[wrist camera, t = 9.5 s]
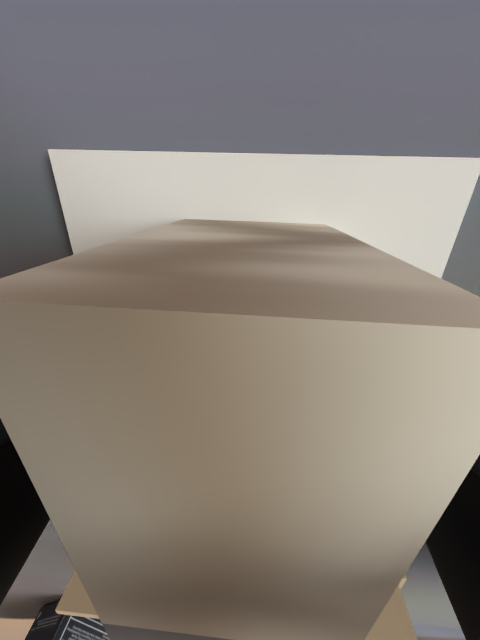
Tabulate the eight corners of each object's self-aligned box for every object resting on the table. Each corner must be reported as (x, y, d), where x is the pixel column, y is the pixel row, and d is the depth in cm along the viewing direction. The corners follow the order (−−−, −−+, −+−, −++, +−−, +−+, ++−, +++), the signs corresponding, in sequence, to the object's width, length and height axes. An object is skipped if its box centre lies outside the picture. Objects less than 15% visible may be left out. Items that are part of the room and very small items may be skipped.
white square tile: (473, 159, 9) (485, 158, 8) (369, 454, 15) (373, 462, 14) (57, 151, 9) (47, 149, 9) (123, 434, 15) (119, 441, 15)
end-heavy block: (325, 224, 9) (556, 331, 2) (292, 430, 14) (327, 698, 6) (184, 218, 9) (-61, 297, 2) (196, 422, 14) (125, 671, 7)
